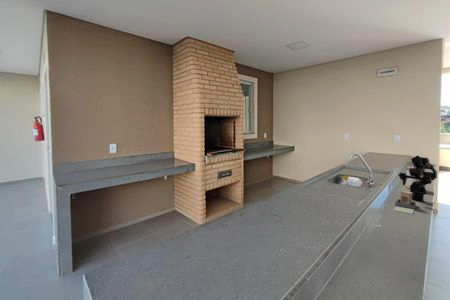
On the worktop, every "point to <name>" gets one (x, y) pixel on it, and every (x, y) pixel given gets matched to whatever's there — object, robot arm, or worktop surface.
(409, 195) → the birch box
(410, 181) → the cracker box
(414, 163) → the robot arm
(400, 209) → the sage mat
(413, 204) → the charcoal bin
